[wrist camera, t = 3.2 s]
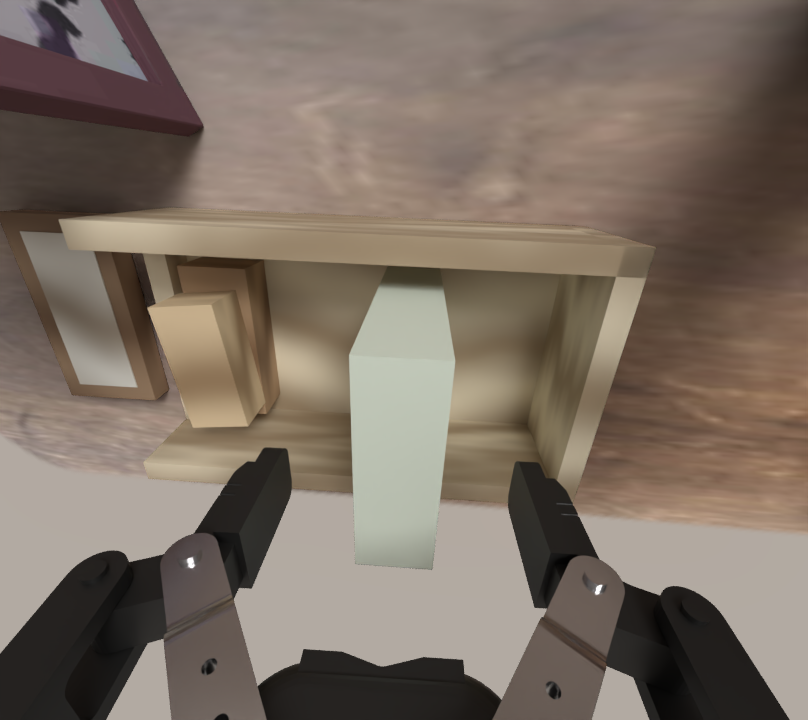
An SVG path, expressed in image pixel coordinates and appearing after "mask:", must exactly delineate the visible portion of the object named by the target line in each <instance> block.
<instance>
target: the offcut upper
mask: <svg viewBox="0 0 808 720" xmlns="http://www.w3.org/2000/svg"><path fill="white" fill-rule="evenodd" d="M147 309H148V311H149V314H150V316H151V319H152V322H153V324H154V327H155V330H156V332H157V335H158V337H159V340H160V343H161V345H162V348H163V350H164V353H165V356H166V358H167V361H168V364H169V366H170V369H171V371H172V374H173V377H174V379H175V382H176V384H177V387H178V390H179V392H180V395H181V398H182V400H183V403H184V405H185V408H186V411H187V413H188V416H189V419H190V421H191V424H192V426H193V428H203V427H244V426H249V424H250V423H251V422H252V420H253V419H254V418H255V416H256V415H257V413H258V412H259V411H260V409H261V408H262V406H263V405H264V404H265V398H264V394H263V391H262V387H261V383H260V379H259V376H258V372H257V368H256V365H255V361H254V357H253V353H252V350H251V346H250V342H249V338H248V335H247V331H246V327H245V324H244V320H243V316H242V312H241V309H240V305H239V301H238V297H237V294H236V290H233V291H214V292H196V293H178V294H176V295H174V296H172V297H170V298H167V299H165V300H163V301H161V302H159V303H157V304H154V305H152V306H150V307H148V308H147Z"/></svg>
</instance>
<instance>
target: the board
mask: <svg viewBox="0 0 808 720" xmlns="http://www.w3.org/2000/svg"><path fill="white" fill-rule="evenodd" d="M103 214H105V213H84V212H62V211H41V210H11V211H0V222H1V225H2V227H3V230H4V232H5V234H6V237H7V239H8V242H9V244H10V246H11V249H12V251H13V254H14V256H15V259H16V261H17V263H18V266H19V268H20V271H21V273H22V275H23V278H24V280H25V283H26V285H27V287H28V290H29V292H30V295H31V297H32V300H33V302H34V304H35V307H36V309H37V312H38V314H39V316H40V319H41V321H42V324H43V326H44V328H45V331H46V333H47V336H48V338H49V341H50V343H51V345H52V348H53V350H54V353H55V355H56V357H57V360H58V362H59V365H60V367H61V370H62V372H63V374H64V377H65V379H66V382H67V384H68V386H69V389H70V391H71V394H72V395H78V396H94V397H110V398H126V399H143V400H157V399H158V398H159V397H160V396H162V395H163V394H164V393H165V392H167V391H168V390H169V387H168V384H167V380H166V376H165V373H164V369H163V366H162V362H161V358H160V355H159V351H158V348H157V344H156V340H155V337H154V333H153V330H152V326H151V322H150V319H149V315H148V312H147V308H146V304H145V301H144V297H143V294H142V290H141V286H140V283H139V279H138V276H137V272H136V268H135V265H134V261H133V258H132V254H131V253H128V252H108V251H88V250H69V249H68V246H67V243H66V240H65V237H64V234H63V231H62V228H61V226H60V223H59V220H58V219H66V218H75V217H84V216H94V215H103Z"/></svg>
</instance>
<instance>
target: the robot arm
mask: <svg viewBox="0 0 808 720" xmlns="http://www.w3.org/2000/svg"><path fill="white" fill-rule="evenodd" d="M291 489H292V478H291V470H290V463H289V455H288V450H287V449H286V448H272V447H265V448H263V449H262V451H261V453H260V454H259V456H258V457H257V459H256V461H255V462H253V461H247V462H246V463H244V464H243V465H242V466H241V467H239V468H238V469H237V470H236V471H235V472H234V473H233V475H232V476H231V478H230V479H229V481H228V482H227V485H226V486H225V487H224V488H223V490H222V491H221V494H220V496H218V498H217V499H216V501H215V502H214V504H213V505H212V507H211V508H210V510H209V511H208V513H207V514H206V516H205V518H204V519H203V521H202V522H201V524H200V525H199V527H198V528H197V530H196V531H195V533H194V534H191V535H189V536H186V537H184V538H182V539H180V540H178V541H177V542H176V543H174V544H173V545H172V546H171V547H170V548H169V549H168V550H167V551H166V552H165V554H163V555H159V556H155V557H151V558H146V559H142V560H137V561H133V562H129V561H128V559H127V557H126V555H125V554H124V553H122V552H120V551H106V552H102V553H99V554H96V555H93V556H91V557H89V558H87V559H86V560H84V561H82V562H81V563H79V564H78V565H77V566H75V567H74V568H73V569H72V570H71V571H70V572H69V573H68V574H67V575H66V577H65V578H64V579H63V580H62V581H61V582H60V584H59V585H58V586H57V587H56V588H55V590H54V591H53V592H52V593H51V594H50V596H49V597H48V598H47V599H46V600H45V601H44V603H43V604H42V605H41V606H40V607H39V609H38V610H37V611H36V612H35V613H34V614H33V616H32V617H31V618H30V619H29V621H27V623H26V624H25V625H24V626H23V627H22V629H21V630H20V631H19V632H18V633H17V635H16V636H15V637H14V638H13V639H12V641H11V642H10V643H9V644H8V645H7V646H6V648H5V649H4V650H3V651H2V652H1V654H0V720H106V719H107V717H108V715H109V713H110V711H111V710H112V708H113V706H114V704H115V702H116V700H117V699H118V697H119V695H120V693H121V691H122V689H123V687H124V686H125V684H126V682H127V680H128V678H129V676H130V675H131V673H132V671H133V669H134V667H135V665H136V664H137V662H138V660H139V658H140V656H141V654H142V652H143V651H144V649H145V647H146V645H147V643H149V642H153V641H157V640H161V639H164V649H165V659H166V668H167V679H168V689H169V699H170V709H171V718H172V720H592V716H593V712H594V709H595V706H596V703H597V699H598V696H599V692H600V689H601V685H602V681H603V678H604V674H605V671H606V666H608V667H610V668H613V669H615V670H617V671H620V672H622V673H625V674H627V675H629V676H631V677H633V678H634V680H635V683H636V685H637V688H638V691H639V693H640V696H641V699H642V701H643V704H644V706H645V709H646V712H647V714H648V717H649V719H650V720H789V718H788V717H787V715H786V713H785V712H784V710H783V709H782V708H781V706H780V704H779V703H778V701H777V700H776V698H775V696H774V695H773V693H772V692H771V690H770V689H769V687H768V685H767V684H766V682H765V681H764V679H763V678H762V676H761V675H760V673H759V672H758V670H757V668H756V667H755V665H754V664H753V662H752V661H751V659H750V657H749V656H748V654H747V653H746V651H745V650H744V648H743V647H742V645H741V643H740V642H739V640H738V639H737V637H736V636H735V634H734V632H733V631H732V629H731V628H730V626H729V625H728V623H727V622H726V620H725V619H724V617H723V616H722V614H721V613H720V612H719V611H718V610H717V608H716V607H715V606H714V605H713V604H711V602H709V601H708V600H707V599H705V598H704V597H703V596H701V595H700V594H698V593H696V592H694V591H692V590H689V589H686V588H683V587H679V586H671V587H668V588H666V589H664V590H663V592H662V593H661V595H660V596H659V595H657V594H654V593H651V592H648V591H645V590H642V589H639V588H636V587H634V586H631V585H629V584H627V583H625V582H623V581H622V580H621V578H620V577H619V575H618V574H617V573H616V572H615V571H614V570H613V569H612V568H611V567H610V566H609V565H607V564H606V563H604V562H603V561H601V560H599V558H598V556H597V554H596V552H595V550H594V547H593V545H592V543H591V541H590V539H589V537H588V535H587V533H586V531H585V529H584V526H583V524H582V522H581V520H580V518H579V517H578V514H577V512H576V509H575V507H574V506H573V503H572V501H571V499H570V497H569V495H568V493H567V490H566V489H565V488H564V487H563V486H562V485H561V484H560V483H559V482H558V481H557V480H556V479H553V478H546V477H545V475H544V472H543V470H542V468H541V465H540V464H539V463H538V462H523V461H516V462H515V464H514V469H513V474H512V479H511V484H510V489H509V494H508V508H509V514H510V518H511V521H512V525H513V529H514V532H515V536H516V540H517V544H518V547H519V551H520V555H521V559H522V562H523V566H524V570H525V573H526V577H527V581H528V585H529V588H530V592H531V596H532V600H533V603H534V607H535V608H547V611H546V613H545V615H544V617H542V618H541V619H540V621H539V623H538V625H537V627H536V629H535V631H534V633H533V635H532V637H531V640H530V642H529V644H528V646H527V648H526V650H525V652H524V654H523V656H522V658H521V661H520V663H519V665H518V667H517V669H516V671H515V673H514V675H513V677H512V680H511V682H510V684H509V686H508V688H507V690H506V692H505V694H504V696H503V699H502V700H501V699H500V698H499V697H498V696H497V695H496V694H495V693H494V692H493V691H492V690H491V689H490V688H488V687H487V686H485V685H484V684H483V683H481V682H480V681H478V680H476V679H474V678H472V677H470V676H468V675H465V674H464V665H463V660H457V659H442V658H427V657H423V658H419V659H414V660H410V661H406V662H402V663H398V664H394V665H389V666H385V667H380V666H377V665H375V664H372V663H370V662H367V661H364V660H362V659H359V658H357V657H354V656H352V655H349V654H346V653H344V652H337V651H322V650H307V649H304V650H303V654H302V657H301V661H300V663H299V664H295V665H292V666H290V667H287V668H284V669H283V670H281V671H279V672H277V673H275V674H273V675H272V676H270V677H269V678H268V679H266V680H265V681H263V682H262V683H261V684H260V685H259V686H257V683H256V679H255V676H254V672H253V668H252V665H251V661H250V658H249V654H248V650H247V647H246V643H245V639H244V636H243V632H242V628H241V625H240V621H239V618H238V614H237V610H236V607H235V603H234V597H235V595H236V593H237V591H238V589H239V588H252V586H253V584H254V581H255V579H256V577H257V574H258V572H259V570H260V567H261V565H262V563H263V560H264V558H265V556H266V553H267V551H268V548H269V546H270V544H271V541H272V539H273V537H274V534H275V532H276V529H277V527H278V525H279V522H280V520H281V518H282V515H283V513H284V511H285V508H286V505H287V503H288V501H289V498H290V495H291Z"/></svg>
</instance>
